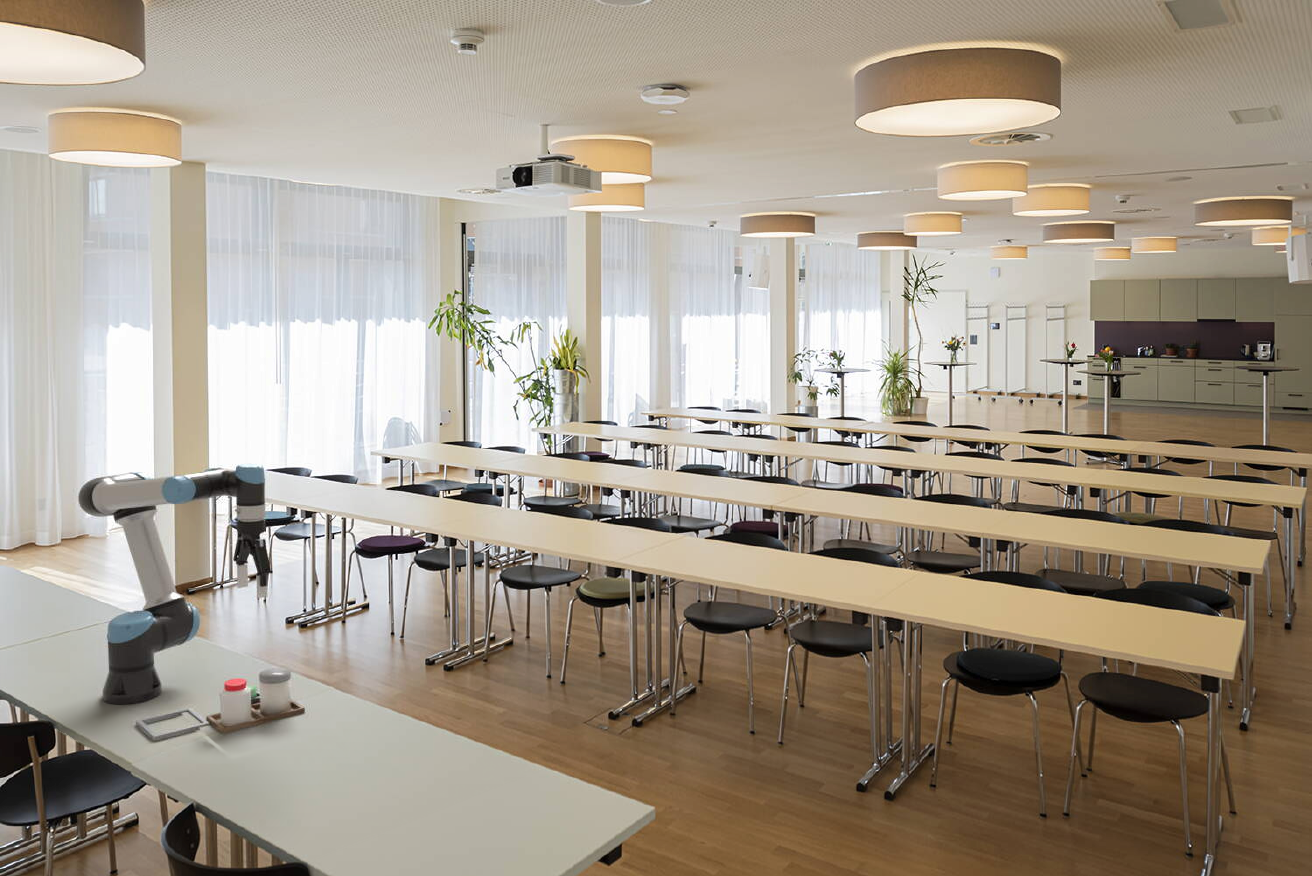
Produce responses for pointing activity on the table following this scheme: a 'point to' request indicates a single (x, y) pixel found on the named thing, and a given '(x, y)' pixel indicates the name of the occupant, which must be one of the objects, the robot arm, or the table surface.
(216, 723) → the brown divided tray
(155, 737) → the tray
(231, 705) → the pill bottle
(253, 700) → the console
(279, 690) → the seated part
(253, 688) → the button
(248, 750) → the table surface
